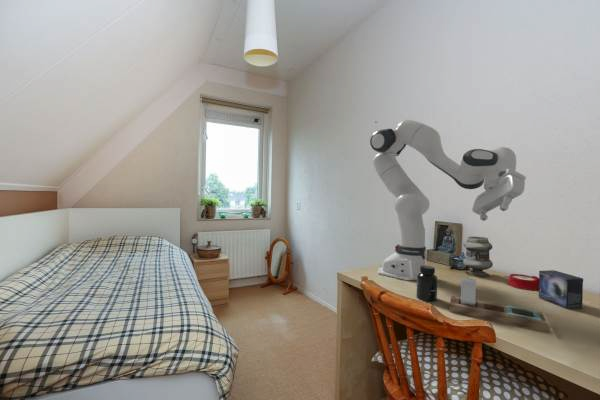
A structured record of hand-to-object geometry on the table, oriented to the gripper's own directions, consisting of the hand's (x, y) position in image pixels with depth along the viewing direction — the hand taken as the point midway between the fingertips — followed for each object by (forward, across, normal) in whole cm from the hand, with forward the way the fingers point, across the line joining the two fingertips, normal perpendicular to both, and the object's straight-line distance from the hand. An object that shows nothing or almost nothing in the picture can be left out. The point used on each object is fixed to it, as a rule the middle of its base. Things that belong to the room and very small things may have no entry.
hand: (493, 214), depth 97 cm
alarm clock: (+4, -28, +38) cm, 48 cm away
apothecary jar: (+1, -45, +27) cm, 52 cm away
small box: (+13, -12, +37) cm, 41 cm away
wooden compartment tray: (+32, -5, +9) cm, 34 cm away
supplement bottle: (+32, -19, -5) cm, 38 cm away
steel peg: (+33, -8, +3) cm, 34 cm away
